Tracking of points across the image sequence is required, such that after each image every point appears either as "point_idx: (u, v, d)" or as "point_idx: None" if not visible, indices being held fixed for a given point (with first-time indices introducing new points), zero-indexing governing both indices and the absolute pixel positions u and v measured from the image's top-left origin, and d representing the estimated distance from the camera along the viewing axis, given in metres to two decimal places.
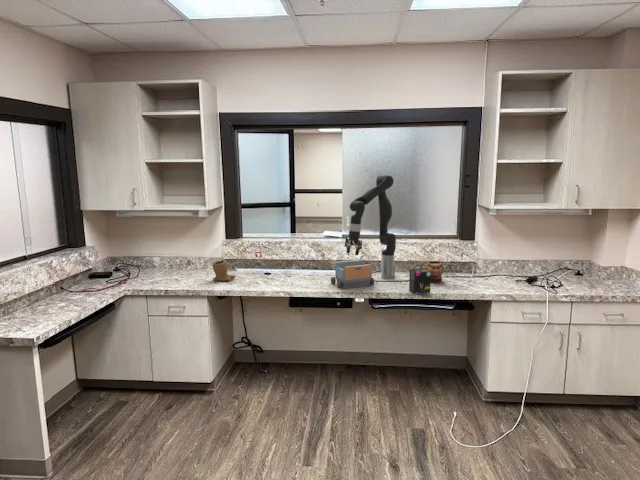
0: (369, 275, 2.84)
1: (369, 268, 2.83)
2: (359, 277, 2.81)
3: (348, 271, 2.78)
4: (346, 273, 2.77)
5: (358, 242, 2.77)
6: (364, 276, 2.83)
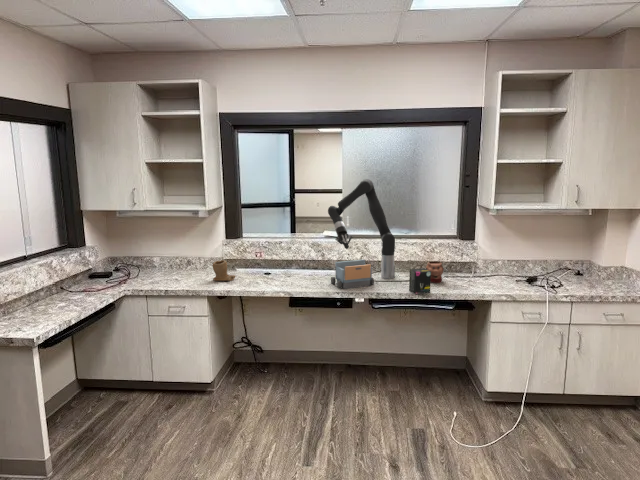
0: (369, 275, 2.84)
1: (369, 268, 2.83)
2: (359, 277, 2.81)
3: (348, 271, 2.78)
4: (346, 273, 2.77)
5: None
6: (364, 276, 2.83)
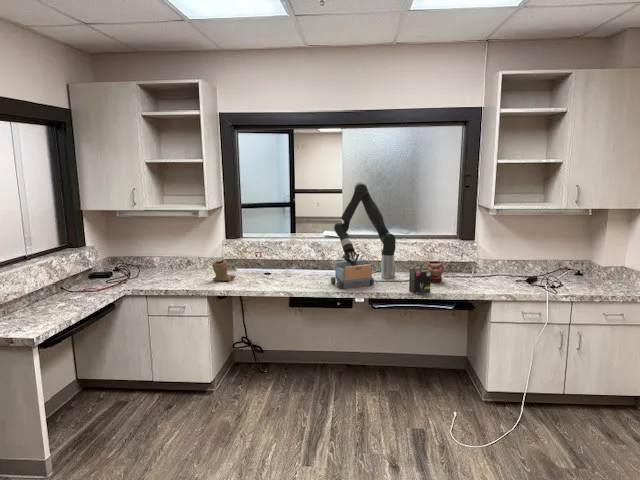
0: (369, 275, 2.84)
1: (369, 268, 2.83)
2: (359, 277, 2.81)
3: (348, 271, 2.78)
4: (346, 273, 2.77)
5: None
6: (364, 276, 2.83)
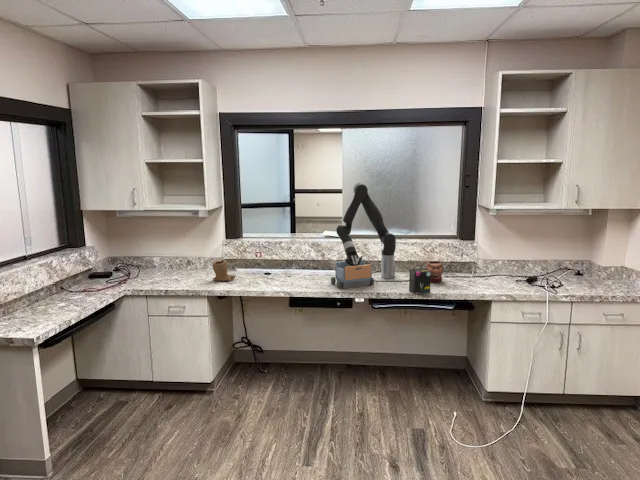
0: (369, 275, 2.84)
1: (369, 268, 2.83)
2: (359, 277, 2.81)
3: (348, 271, 2.78)
4: (346, 273, 2.77)
5: None
6: (364, 276, 2.83)
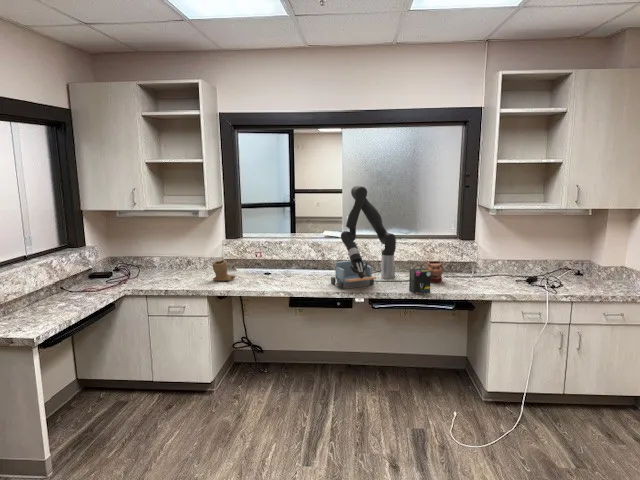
0: None
1: None
2: None
3: None
4: None
5: None
6: None
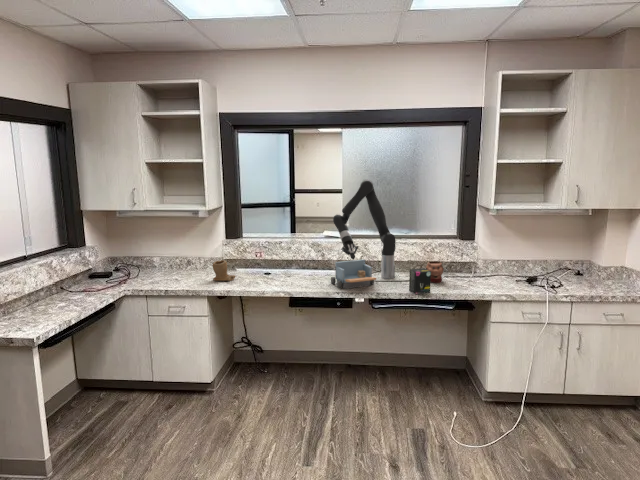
0: None
1: None
2: None
3: None
4: (348, 281, 2.75)
5: None
6: None
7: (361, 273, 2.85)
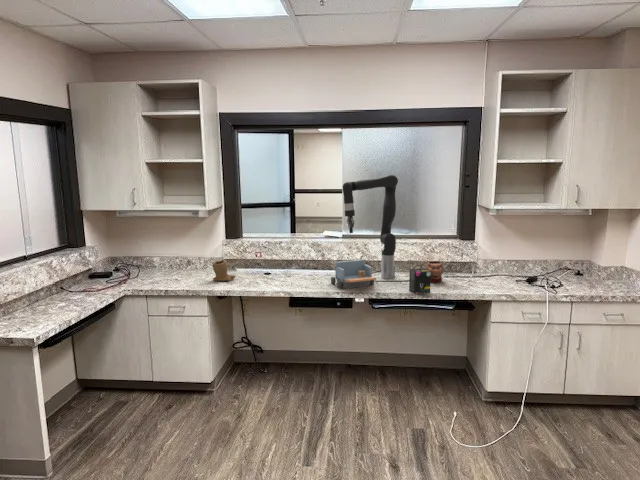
0: None
1: None
2: None
3: None
4: (348, 281, 2.75)
5: (350, 222, 3.00)
6: None
7: (361, 273, 2.85)
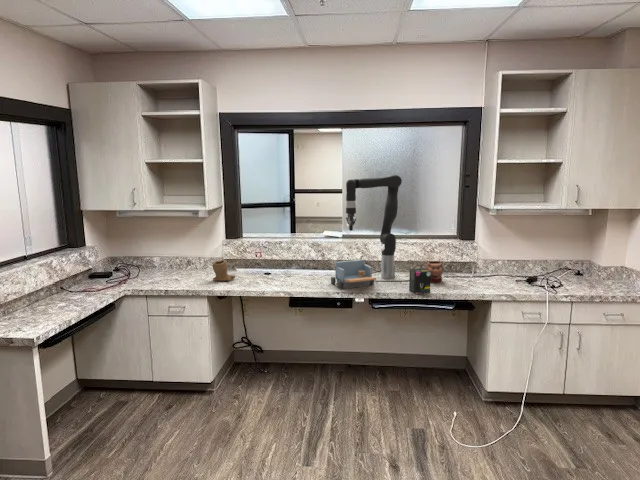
0: None
1: None
2: None
3: None
4: (348, 281, 2.75)
5: (352, 220, 3.00)
6: None
7: (361, 273, 2.85)
